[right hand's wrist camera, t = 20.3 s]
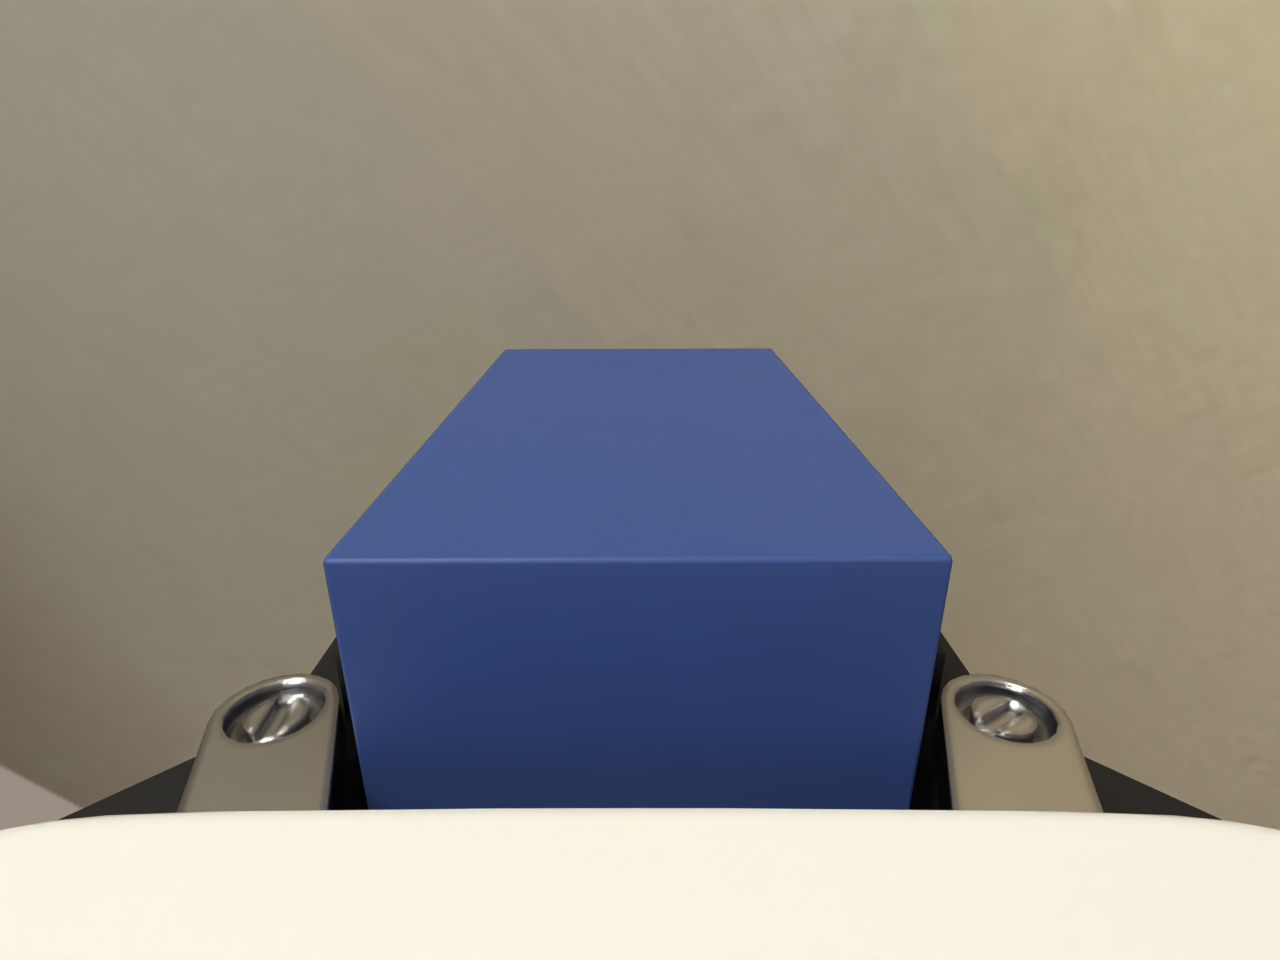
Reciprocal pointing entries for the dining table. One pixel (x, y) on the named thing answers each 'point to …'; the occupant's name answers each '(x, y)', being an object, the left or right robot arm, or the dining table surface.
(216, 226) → the dining table surface
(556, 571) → the brick
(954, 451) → the dining table surface
